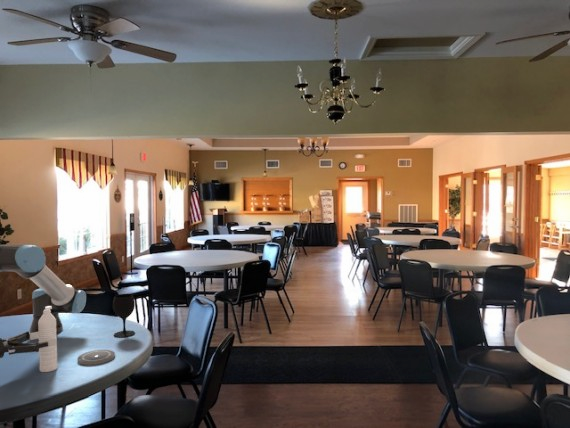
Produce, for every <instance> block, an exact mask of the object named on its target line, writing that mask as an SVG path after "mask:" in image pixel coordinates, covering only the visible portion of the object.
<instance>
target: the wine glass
mask: <svg viewBox="0 0 570 428" xmlns="http://www.w3.org/2000/svg"><path fill="white" fill-rule="evenodd" d="M135 303H136V302H135V298H134V295H133V294H131V293H121V294H116V295H115V296H114V297H113V301H112V309H113V312H114V314H115V315H116V316H117V318H120V319H121V320H122V325H123V328H122V330H120V331H117V332H115V333H114V334H113V337H114V338H116V339H117V338H118V339H120V338H121V339H123V338H130V337H133V336H134V335H135V334H136V331H134V330H127V329H126V320H127V319H128V318H129V317H130V316H131V315H132V314H133V312H134V311H135V305H136V304H135Z"/></svg>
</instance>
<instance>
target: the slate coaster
mask: <svg viewBox="0 0 570 428" xmlns="http://www.w3.org/2000/svg"><path fill="white" fill-rule="evenodd" d="M115 358H116V353H115V352H114V351H113V350H112V349H111V350H110V349H95V350H90V351H88V352H83V353H82V354H80V355H79V356H78V357H77V358H76V360H77V364H79V365H81V366H99V365H104V364H107V363H109V362H111V361H112V360H114V359H115Z"/></svg>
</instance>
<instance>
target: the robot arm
mask: <svg viewBox="0 0 570 428" xmlns="http://www.w3.org/2000/svg"><path fill="white" fill-rule="evenodd" d="M45 255H46V254H45V252H44V250H43V249H42V248H41V247H40V246H37V245H34V244H33V245H32V244H0V273H1V272H14V273H16V274H17V275H19V276H20V277H21V278H23V279H29V280H30V281H32V282H33V283H34V284H35V285H36V286H37V287H39V288H38V289H34V290H33V291H32V294H31V295H32V297H31V303H32V321H31V324H30V328H29V331H26V332H22V333H19V334H16V335H13V336H11V337H8V338H3V339H2V338H1V337H0V359H2V358H4V356H5V353H8V355H9V356H11V355H15V354H24V353H25V354H26V353H39V349H41V348H46V347H50V346H54V345H57V346H58V340H57V337H56V338H53V339H49V340H44V341H39V330H38V322H39V319H40V318H41V316H42V315H43V312H44V310H45V307H47V306H52V309H50V311H51V312H50V313H51V314H52V315H53V316H54V317H55V319H56V334H58V333H60V332H62V331H63V329H64V328H63V327H64V326H63V323H62V320H61V318H60V316H59V314H79V313H81V312H82V311H83V310H84V308H85V306H86V304H87V303H86V302H87V294H86V292H85V291H84V290H81V289H78V290H77V289H76V288H75V287H74V286H72V285H71V284H66V283H65V282H64V281H63V280H61V278H60V277H58V275H56V273H54V272H53V271H52V270H51V269H50V268H49V267H48V266H47V265H46V259H47V258H46V256H45ZM37 339H38V341H37V342H27V341H29V340H30V341H32V340H37Z"/></svg>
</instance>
